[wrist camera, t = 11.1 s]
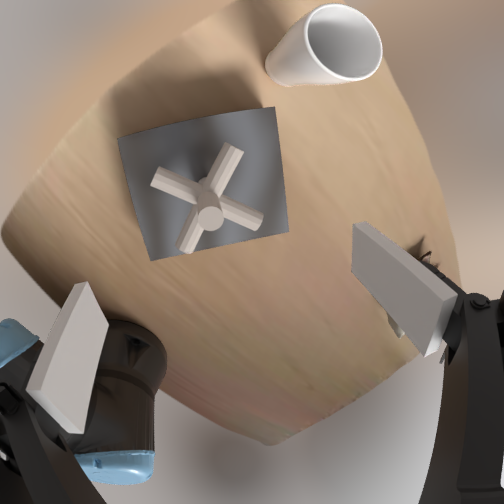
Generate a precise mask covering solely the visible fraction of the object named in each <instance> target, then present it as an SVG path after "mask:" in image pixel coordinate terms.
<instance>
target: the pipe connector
mask: <svg viewBox="0 0 504 504" xmlns="http://www.w3.org/2000/svg"><path fill="white" fill-rule="evenodd" d="M243 154H244V151H242V150H240V149H238V148H236V147H234V146H232V145H230V144H228V143H226V142H225V143H224V145H223V147H222V149H221V151H220V152H219V154H218V156H217V158H216V160H215V162H214V164H213V166H212V168H211V170H210V172H209V174H208V176H207V177H204V178H202V179H200V180H199V182H198V183H197V182H194V181H192V180H190V179H187V178H185V177H183V176H181V175H178V174H176V173H174V172H171V171H169V170H167V169H164V168H162V167H160V166H159V167H158V169H157V171H156V173H155V175H154V178H153V180H152V182H151V185H150V186H152V187H155V188H157V189H159V190H162V191H164V192H167V193H169V194H171V195H174V196H176V197H178V198H181V199H183V200H185V201H188V202H190V203H192V204H193V206H192V208H191V210H190V212H189V214H188V217H187V219H186V221H185V223H184V225H183V227H182V230H181V232H180V234H179V236H178V238H177V241H176V243H175V246H176V248H178V249H179V250H180V251H182V252H184V253H188V254H190V253H192V252H193V251H194V249H195V247H196V245H197V243H198V240H199V238H200V236H201V234H202V232H203V230H207V231H214V230H217V229H218V228H220V227H221V225H222V224H223V221H224V218H227V219H229V220H231V221H233V222H236V223H238V224H240V225H242V226H245V227H247V228H249V229H251V230H254V231H256V230H257V229H258V228H259V227H260V225H261V223H262V221H263V217H264V215H263V213H262V212H260V211H257V210H255V209H253V208H251V207H249V206H247V205H245V204H243V203H240V202H238V201H236V200H234V199H232V198H230V197H227V196H225V195H223V194H222V193H223V191H224V189H225V187H226V185H227V183H228V181H229V180H230V178H231V176H232V174H233V172H234V170H235V168H236V166H237V165H238V163H239V161H240V159H241V157H242V155H243Z"/></svg>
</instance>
